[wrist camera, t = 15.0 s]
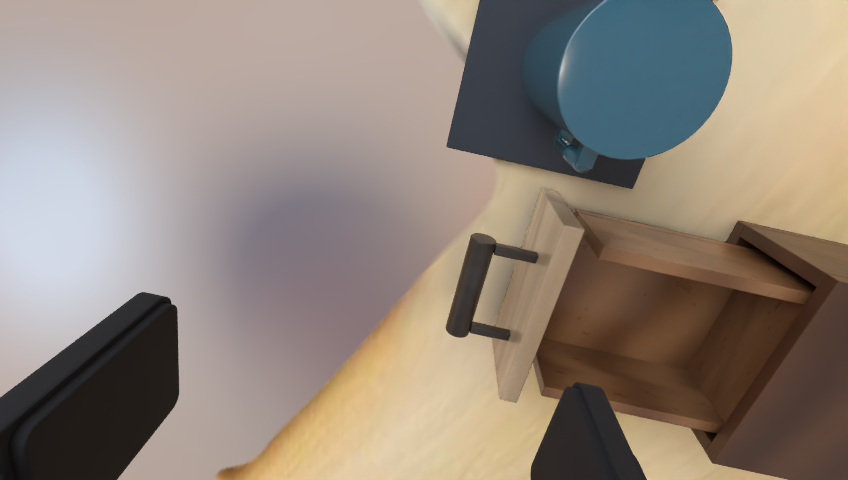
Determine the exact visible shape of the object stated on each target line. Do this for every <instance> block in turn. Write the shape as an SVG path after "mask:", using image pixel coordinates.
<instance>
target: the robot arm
mask: <svg viewBox="0 0 848 480" xmlns="http://www.w3.org/2000/svg"><path fill="white" fill-rule="evenodd" d="M177 322H178V321H177V307H176V306H175V305H172V304H171V300H170V299H169V298H168V297H164V296H159V295H155V294H150V293H145V292H142V293H139V294H137V295H136V296H134V297H133V298H132V299H130V300H129V301H128V302H126V303H125V304H124V305H123V306H121V307H120V308H118V309H117V310H116V311H114V312H113V313H112V314H110V315H109V316H108V317H107V318H105V319H104V320H103V321H101V322H100V323H99V324H97V325H96V326H95V327H93V328H92V329H91V330H89V331H88V332H87V333H85V334H84V335H83V336H81V337H80V338H79V339H77V340H76V341H75V342H73V343H72V344H71V345H69V346H68V347H67V348H65V349H64V350H63V351H61V352H60V353H59V354H58V355H56V356H55V357H54V358H52V359H51V360H49V361H48V362H47V363H45V364H44V365H43V366H42V367H40V368H39V369H38V370H36V371H35V372H34V373H32V374H31V375H30V376H28V377H27V378H26V379H24V380H23V381H22V382H21V383H19V384H18V385H17V386H15V387H14V388H12V389H11V390H10V391H8V392H7V393H6V394H4V395H3V396H2V397H0V480H117V479H118V478H119V476H120V475H121V474H122V473H123V471H124V470H125V469H126V467H127V466H128V465H129V464H130V462H131V461H132V460H133V458H134V457H135V456H136V455H137V454H138V452H139V451H140V450H141V449H142V447H143V446H144V445H145V443H146V442H147V441H148V439H149V438H150V437H151V436H152V435H153V433H154V432H155V431H156V430H157V428H158V427H159V426H160V424H161V423H162V422H163V421H164V419H165V418H166V417H167V415H168V414H169V413H170V411H172V409H173V408H174V406H175V404H176V402H177V400H178V396H179V368H178V367H179V366H178V325H177V324H178V323H177ZM531 480H647V479H646V477H645V475H644V473H643V471H642V468H641V466H640V464H639V462H638V460H637V459H636V457H635V456H634V455H633V453H632V451H631V448H630V446H629V444H628V442H627V440H626V438H625V436H624V433H623V431H622V429H621V427H620V425H619V423H618V420H617V418H616V416H615V414H614V412H613V410H612V407H611V405H610V403H609V401H608V399H607V397H606V394H605V392H604V390H603V389H602V388H601V387H599V386H594V385H590V384H585V383H580V382H575V383H574V384H573V386H572V387H566V388H565V390H564V391H563V394H562V396H561V398H560V401H559V403H558V405H557V408H556V410H555V412H554V414H553V417H552V419H551V421H550V424H549V426H548V428H547V431H546V433H545V435H544V438H543V440H542V442H541V444H540V447H539V449H538V451H537V454H536V456H535V458H534V461H533V463H532V466H531Z"/></svg>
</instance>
